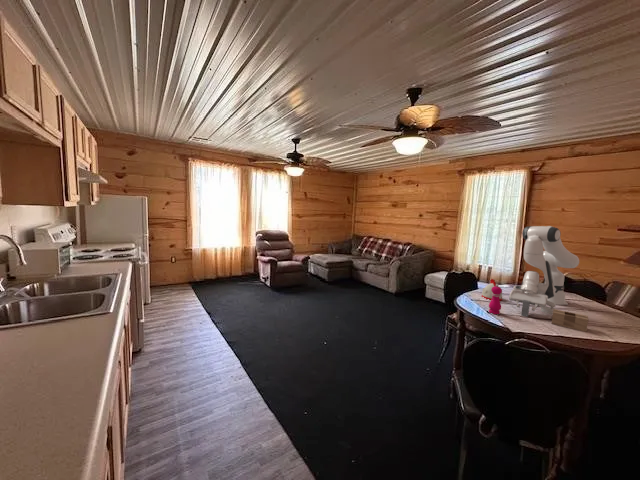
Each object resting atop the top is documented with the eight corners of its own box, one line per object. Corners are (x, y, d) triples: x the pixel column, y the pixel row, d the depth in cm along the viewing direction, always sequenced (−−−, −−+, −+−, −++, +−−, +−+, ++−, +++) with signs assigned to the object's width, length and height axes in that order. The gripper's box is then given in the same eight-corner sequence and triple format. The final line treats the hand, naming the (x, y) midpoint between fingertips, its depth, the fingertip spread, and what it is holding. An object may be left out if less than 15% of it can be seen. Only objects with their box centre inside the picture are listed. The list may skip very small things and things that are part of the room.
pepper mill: (485, 311, 195) (488, 282, 193) (495, 310, 196) (498, 282, 193) (492, 315, 188) (495, 285, 186) (503, 315, 189) (506, 285, 186)
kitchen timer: (496, 295, 230) (498, 277, 228) (505, 301, 217) (507, 282, 215) (478, 294, 232) (480, 277, 230) (486, 300, 218) (488, 281, 216)
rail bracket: (522, 313, 192) (523, 299, 190) (528, 315, 189) (530, 300, 188) (521, 315, 189) (522, 301, 187) (527, 317, 186) (529, 302, 185)
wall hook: (537, 296, 201) (553, 297, 199) (536, 309, 202) (552, 310, 200) (544, 300, 192) (561, 301, 190) (542, 313, 194) (559, 315, 192)
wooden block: (552, 320, 182) (553, 308, 181) (585, 327, 172) (587, 315, 171) (551, 323, 176) (552, 312, 175) (586, 331, 166) (588, 319, 165)
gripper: (548, 297, 189) (545, 315, 183) (511, 290, 203) (507, 307, 196) (548, 292, 185) (545, 310, 179) (511, 285, 199) (507, 302, 193)
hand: (525, 308), depth 188 cm, fingers open, 7 cm apart
